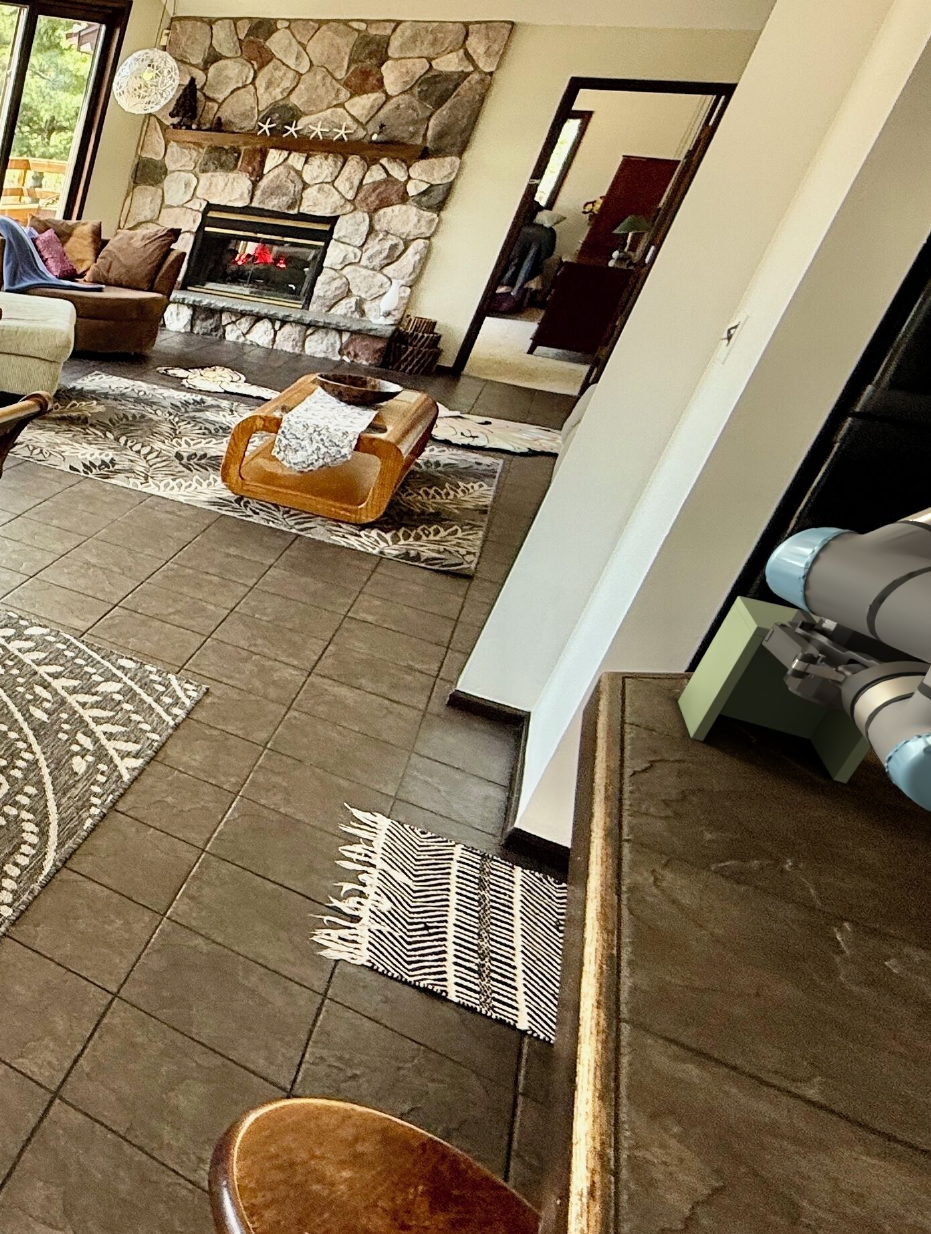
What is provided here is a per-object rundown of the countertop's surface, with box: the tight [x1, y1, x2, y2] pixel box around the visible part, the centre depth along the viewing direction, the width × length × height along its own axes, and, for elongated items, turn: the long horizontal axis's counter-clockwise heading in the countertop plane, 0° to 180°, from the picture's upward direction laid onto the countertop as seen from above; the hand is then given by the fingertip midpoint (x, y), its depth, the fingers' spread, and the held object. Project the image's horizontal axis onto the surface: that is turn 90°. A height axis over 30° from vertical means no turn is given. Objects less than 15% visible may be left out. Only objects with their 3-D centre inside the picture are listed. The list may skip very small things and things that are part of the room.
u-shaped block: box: [677, 595, 872, 784], centre depth 114 cm, size 13×12×15 cm
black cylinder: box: [783, 617, 920, 713], centre depth 102 cm, size 7×7×10 cm
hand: (849, 634), depth 105 cm, fingers closed on black cylinder, 7 cm apart
